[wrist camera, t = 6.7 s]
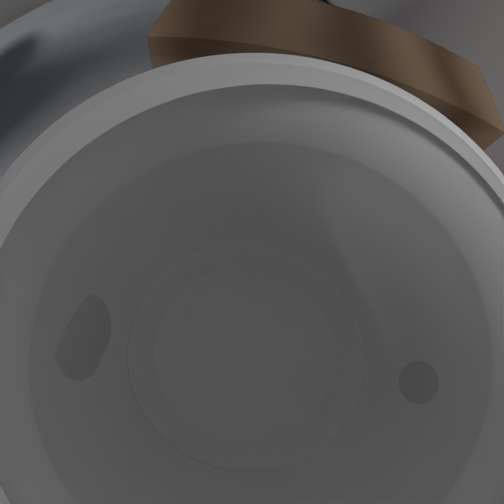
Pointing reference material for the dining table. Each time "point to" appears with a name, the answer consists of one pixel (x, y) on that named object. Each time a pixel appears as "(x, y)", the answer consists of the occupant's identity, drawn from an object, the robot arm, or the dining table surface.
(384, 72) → the wooden block
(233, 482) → the jar
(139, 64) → the dining table surface
